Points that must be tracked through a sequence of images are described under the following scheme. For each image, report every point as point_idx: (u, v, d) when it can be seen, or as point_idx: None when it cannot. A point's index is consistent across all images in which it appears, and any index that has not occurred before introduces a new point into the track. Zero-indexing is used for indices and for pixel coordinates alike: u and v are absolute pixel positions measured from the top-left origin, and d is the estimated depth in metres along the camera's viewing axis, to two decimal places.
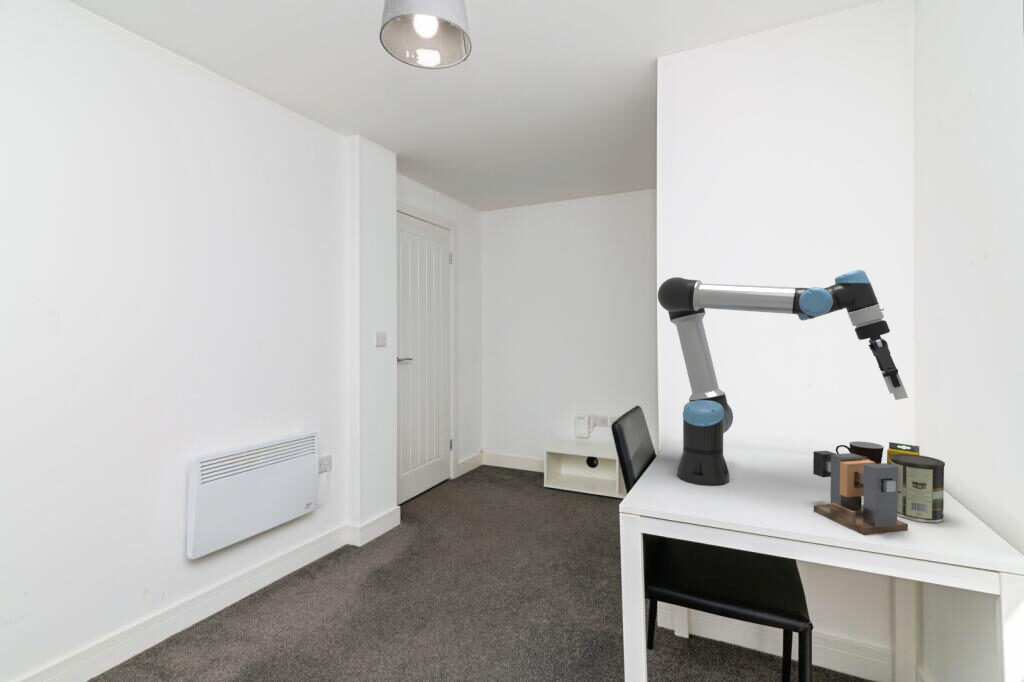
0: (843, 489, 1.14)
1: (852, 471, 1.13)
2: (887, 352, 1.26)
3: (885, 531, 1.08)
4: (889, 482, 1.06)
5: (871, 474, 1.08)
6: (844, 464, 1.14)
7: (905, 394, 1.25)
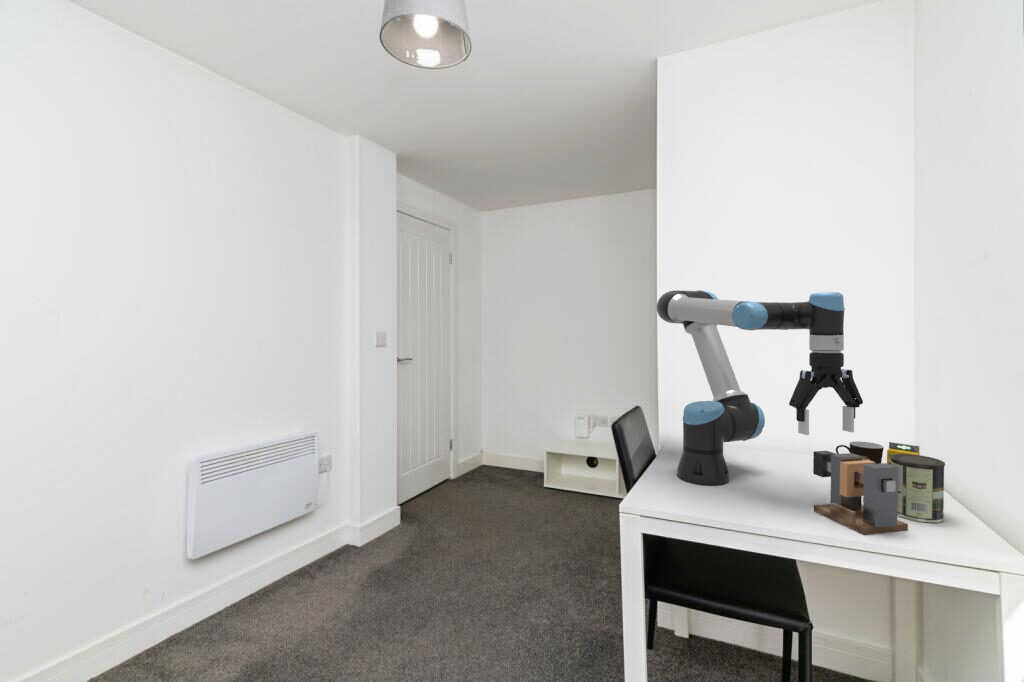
0: (843, 489, 1.14)
1: (852, 471, 1.13)
2: (803, 385, 1.21)
3: (885, 531, 1.08)
4: (889, 482, 1.06)
5: (871, 474, 1.08)
6: (844, 464, 1.14)
7: (805, 431, 1.21)
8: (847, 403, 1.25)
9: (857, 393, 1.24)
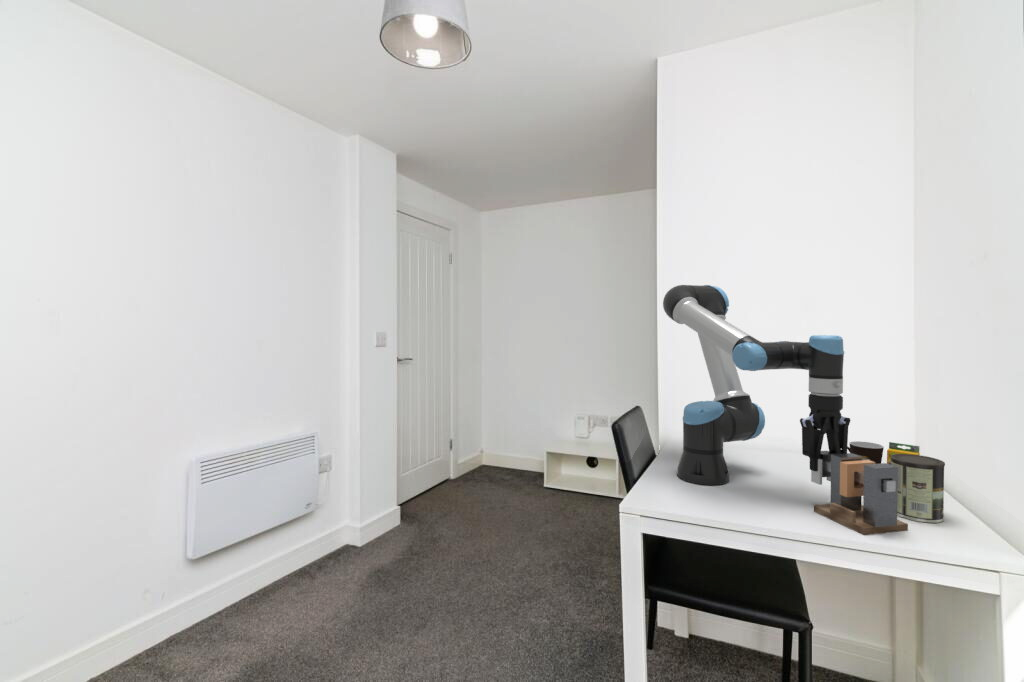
0: (843, 489, 1.14)
1: (852, 471, 1.13)
2: (808, 435, 1.22)
3: (885, 531, 1.08)
4: (889, 482, 1.06)
5: (871, 474, 1.08)
6: (844, 464, 1.14)
7: (818, 480, 1.23)
8: None
9: (845, 443, 1.24)
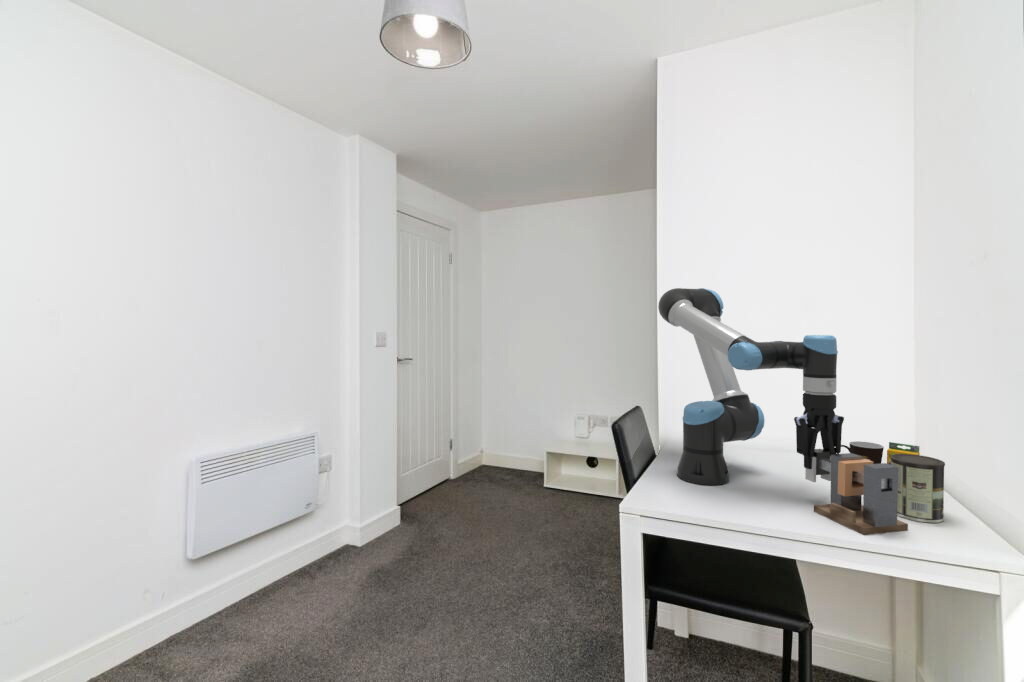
0: (841, 489, 1.15)
1: (850, 470, 1.14)
2: (802, 433, 1.24)
3: (885, 531, 1.08)
4: (881, 479, 1.08)
5: (871, 474, 1.08)
6: (842, 463, 1.14)
7: (812, 478, 1.25)
8: (826, 450, 1.27)
9: (839, 441, 1.26)
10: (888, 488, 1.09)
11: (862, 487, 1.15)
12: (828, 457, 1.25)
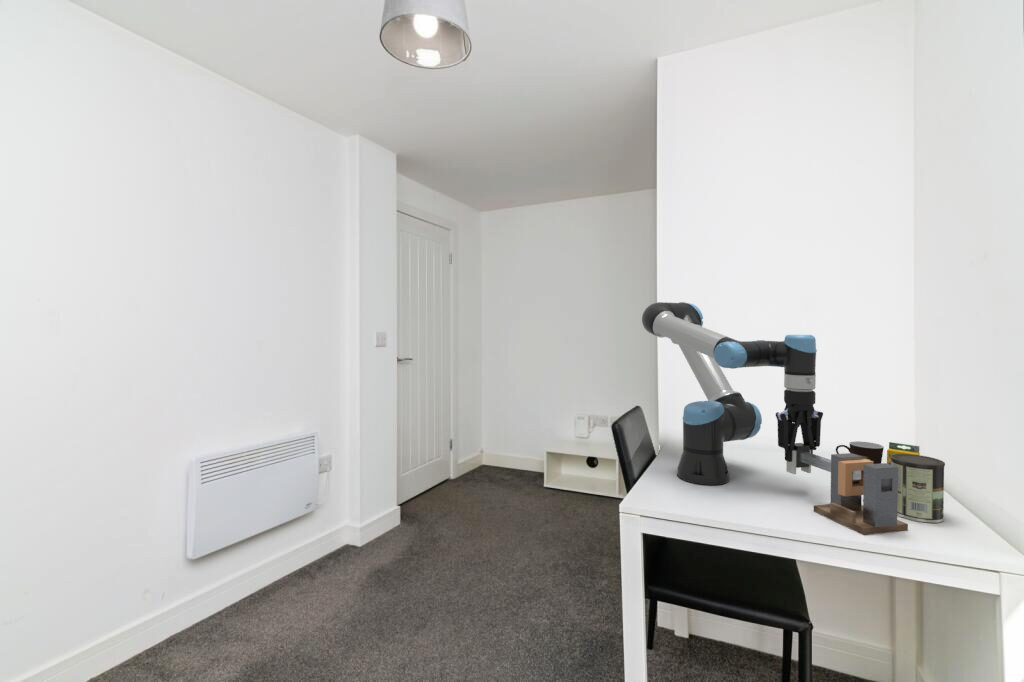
0: (841, 489, 1.15)
1: (850, 470, 1.14)
2: (783, 427, 1.31)
3: (885, 531, 1.08)
4: (855, 471, 1.15)
5: (871, 474, 1.08)
6: (842, 463, 1.14)
7: (792, 470, 1.31)
8: (806, 444, 1.34)
9: (818, 435, 1.32)
10: (888, 488, 1.09)
11: (862, 487, 1.15)
12: (808, 451, 1.31)
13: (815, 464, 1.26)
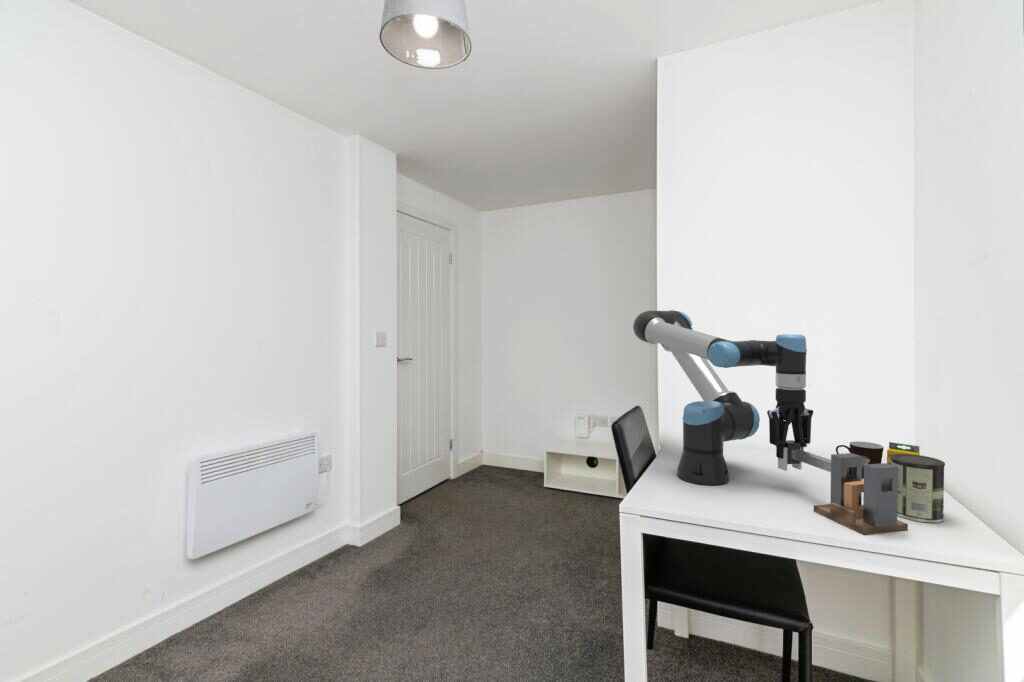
0: None
1: (856, 492, 1.12)
2: (774, 425, 1.34)
3: (885, 531, 1.08)
4: None
5: (871, 474, 1.08)
6: (848, 485, 1.13)
7: (784, 467, 1.35)
8: (797, 441, 1.37)
9: (809, 433, 1.36)
10: (888, 488, 1.09)
11: None
12: (799, 448, 1.35)
13: (805, 461, 1.29)
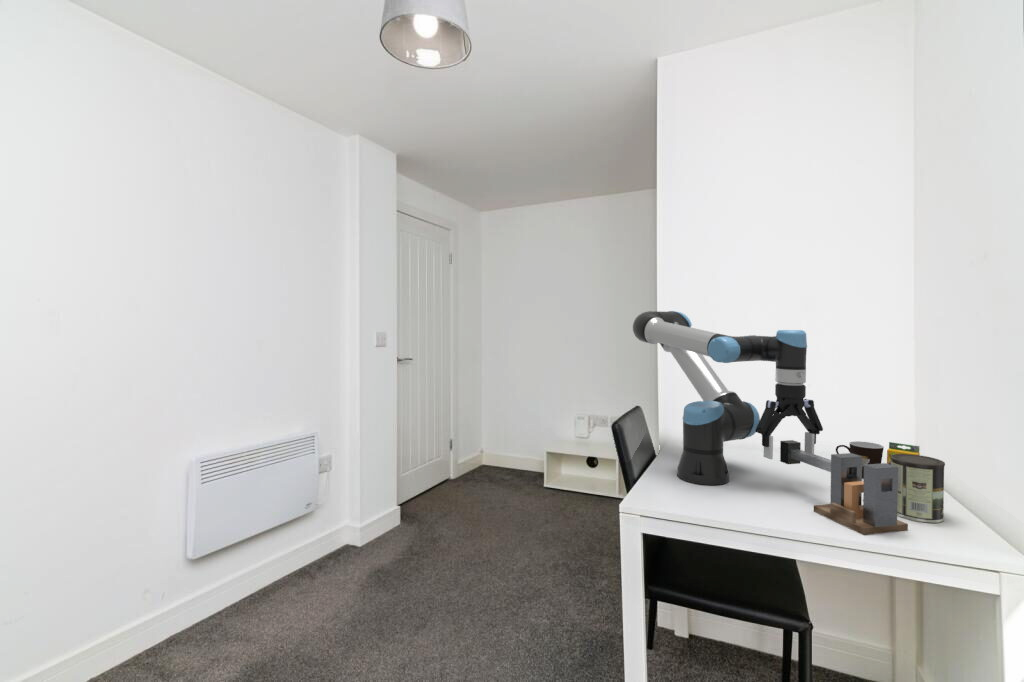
0: None
1: (856, 492, 1.12)
2: (768, 414, 1.34)
3: (885, 531, 1.08)
4: None
5: (871, 474, 1.08)
6: (848, 485, 1.13)
7: (769, 455, 1.34)
8: (809, 430, 1.38)
9: (818, 421, 1.36)
10: (888, 488, 1.09)
11: None
12: (799, 448, 1.35)
13: (805, 461, 1.29)
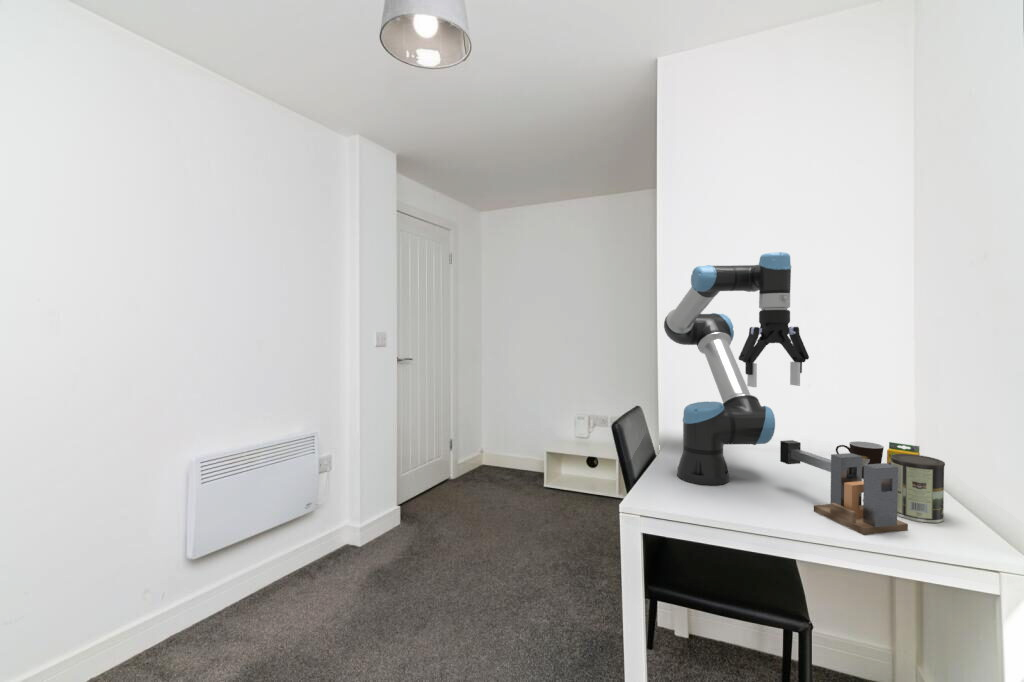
0: None
1: (856, 492, 1.12)
2: (751, 340, 1.28)
3: (885, 531, 1.08)
4: None
5: (871, 474, 1.08)
6: (848, 485, 1.13)
7: (753, 383, 1.29)
8: (794, 359, 1.33)
9: (803, 349, 1.31)
10: (888, 488, 1.09)
11: None
12: (799, 448, 1.35)
13: (805, 461, 1.29)
